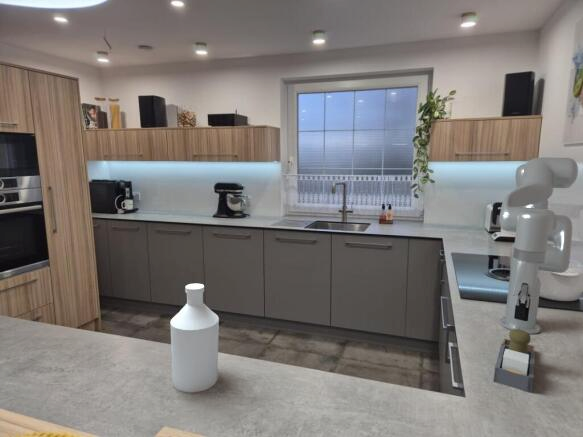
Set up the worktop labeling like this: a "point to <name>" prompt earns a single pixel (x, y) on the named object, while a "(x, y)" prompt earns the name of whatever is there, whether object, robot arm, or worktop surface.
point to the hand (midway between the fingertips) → (521, 313)
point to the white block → (515, 361)
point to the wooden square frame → (530, 347)
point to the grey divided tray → (514, 377)
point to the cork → (519, 341)
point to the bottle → (194, 344)
